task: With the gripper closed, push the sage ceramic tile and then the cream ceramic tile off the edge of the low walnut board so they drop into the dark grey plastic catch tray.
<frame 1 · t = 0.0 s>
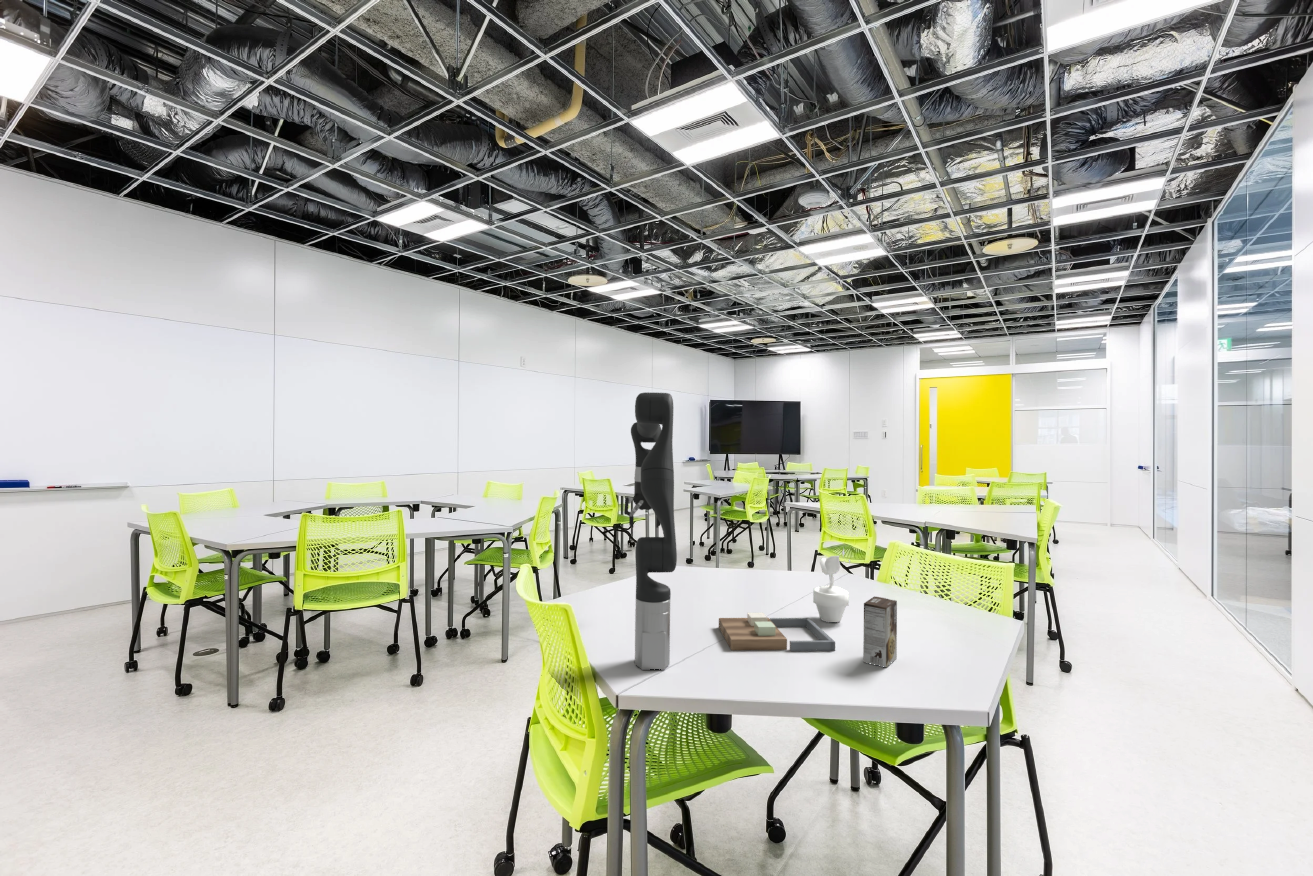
hand: (644, 527, 195), 29 cm above the table, tool pointing down, fingers open, 8 cm apart
board: (750, 638, 171), on the table
coffee box: (879, 661, 154), on the table
tile sage: (764, 632, 167), point 3 cm above the table, touching board
catch tray: (798, 637, 172), on the table
potted plant: (830, 620, 190), on the table
tile cream: (757, 623, 176), point 3 cm above the table, touching board
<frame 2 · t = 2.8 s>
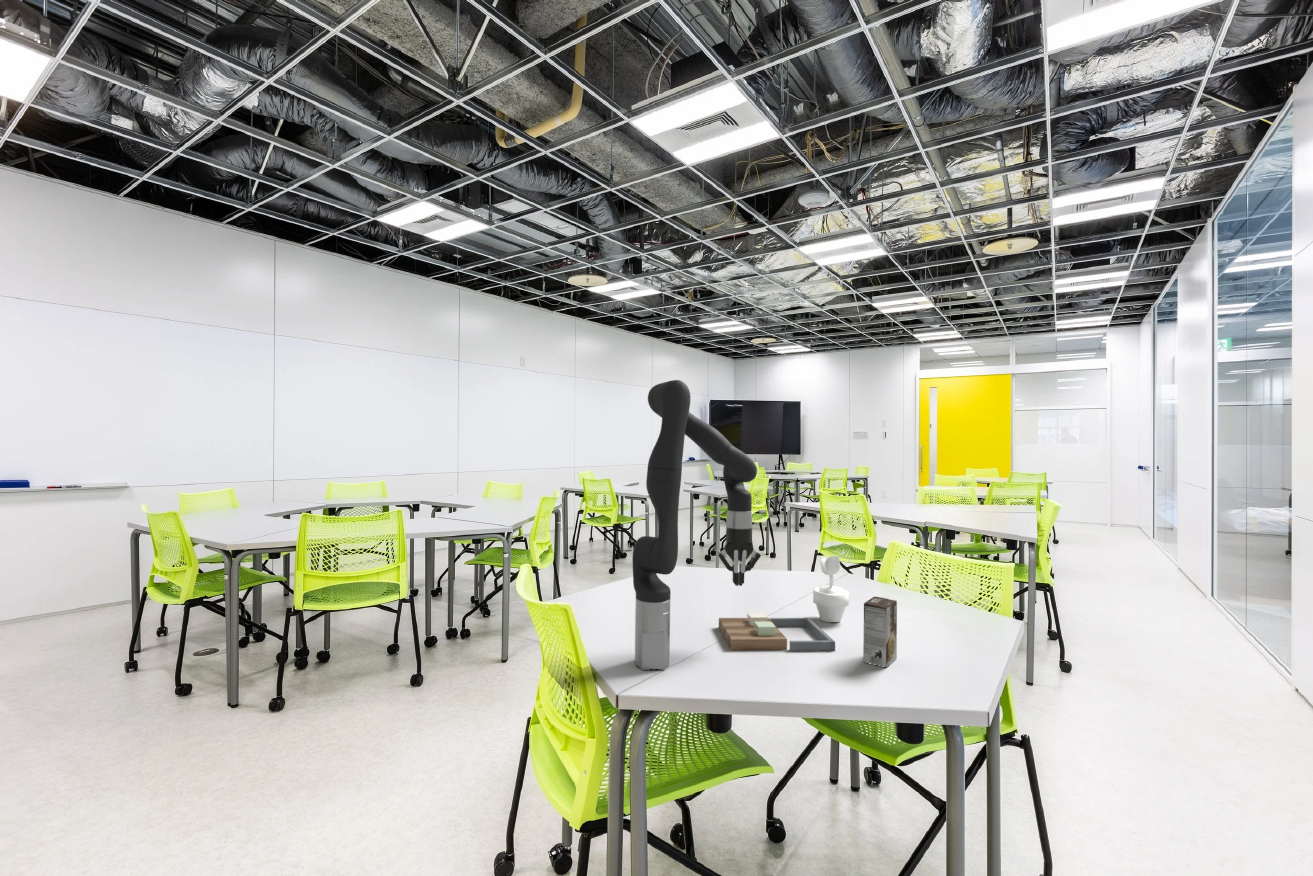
hand: (738, 585, 167), 17 cm above the table, tool pointing down, fingers closed
nothing on the table moved.
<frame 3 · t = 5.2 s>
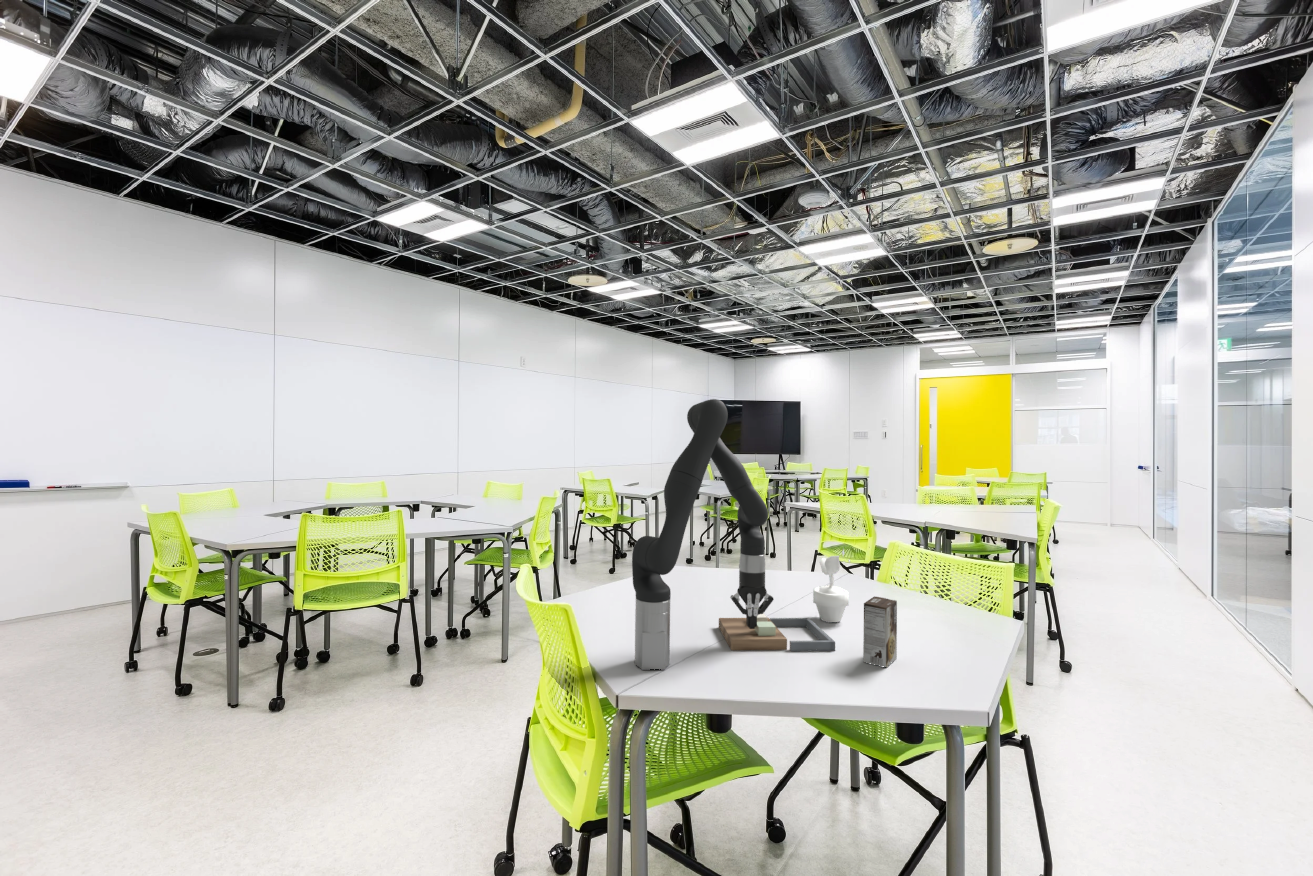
hand: (751, 628, 167), 4 cm above the table, tool pointing down, fingers closed
tile sage: (764, 632, 167), point 3 cm above the table, touching board, gripper
everything else where it was.
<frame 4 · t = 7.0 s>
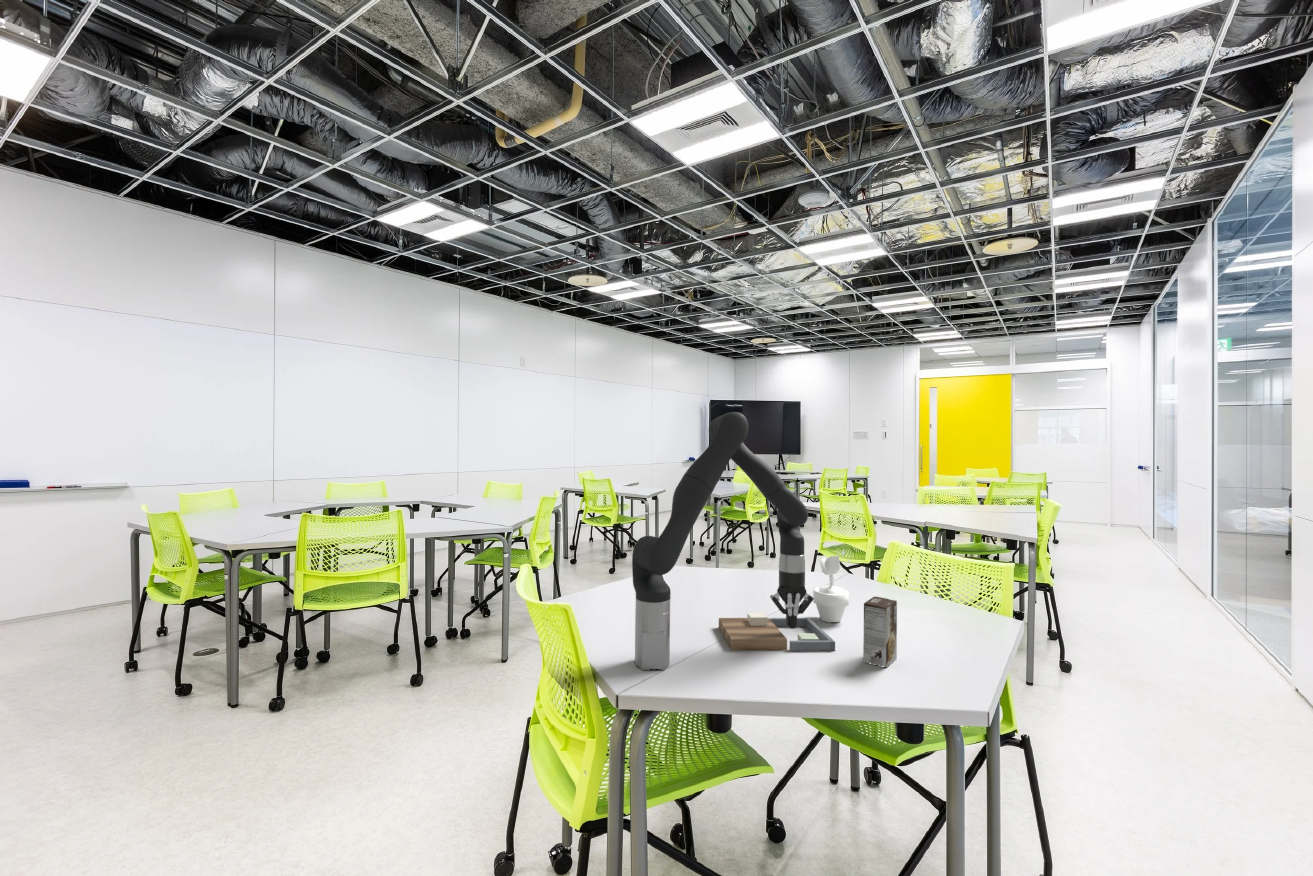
hand: (791, 627, 168), 4 cm above the table, tool pointing down, fingers closed
tile sage: (808, 636, 167), point 2 cm above the table, tilted 180°
everything else where it was.
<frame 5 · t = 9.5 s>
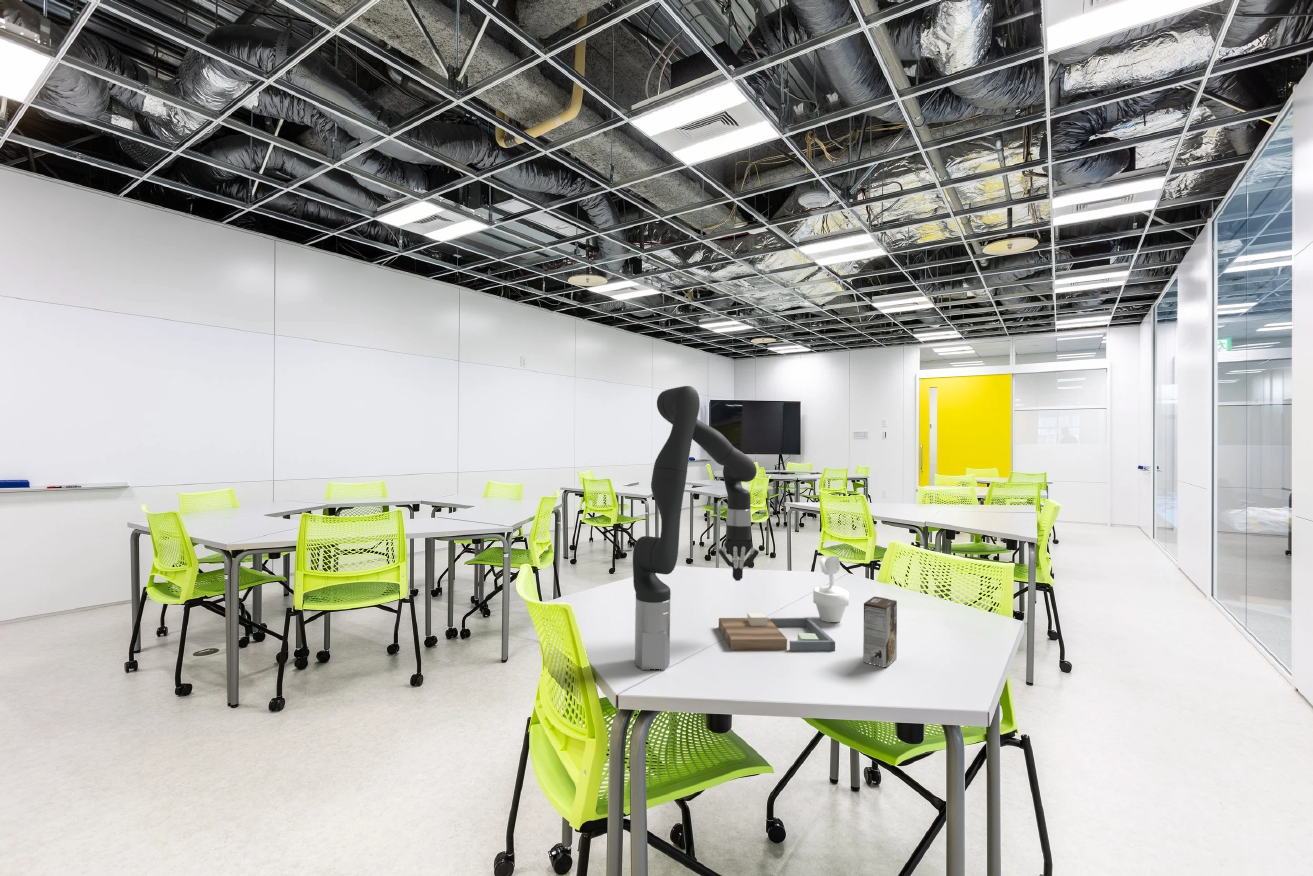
hand: (737, 580, 174), 17 cm above the table, tool pointing down, fingers closed
nothing on the table moved.
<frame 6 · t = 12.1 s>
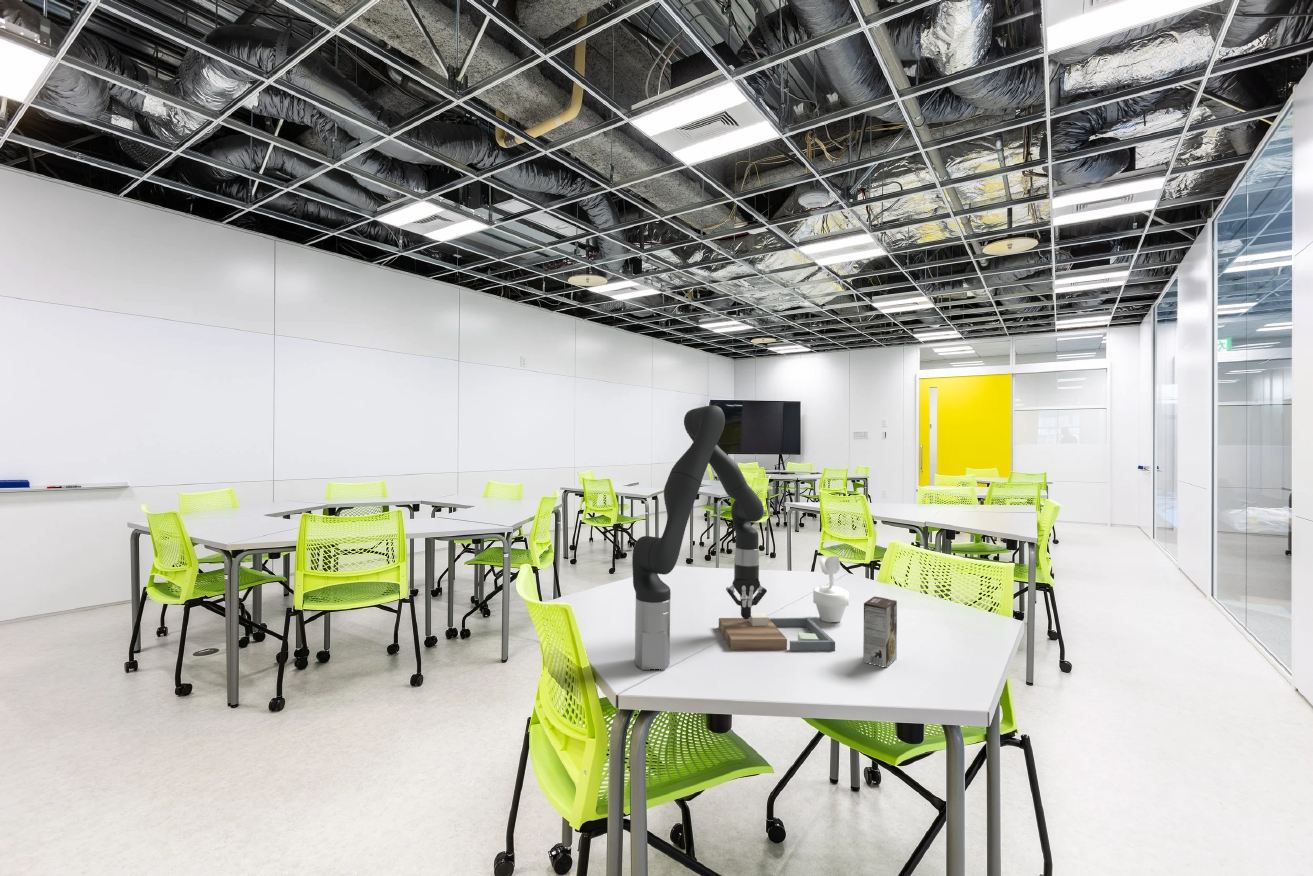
hand: (745, 618, 176), 4 cm above the table, tool pointing down, fingers closed
tile cream: (758, 623, 176), point 3 cm above the table, touching board, gripper
everything else where it was.
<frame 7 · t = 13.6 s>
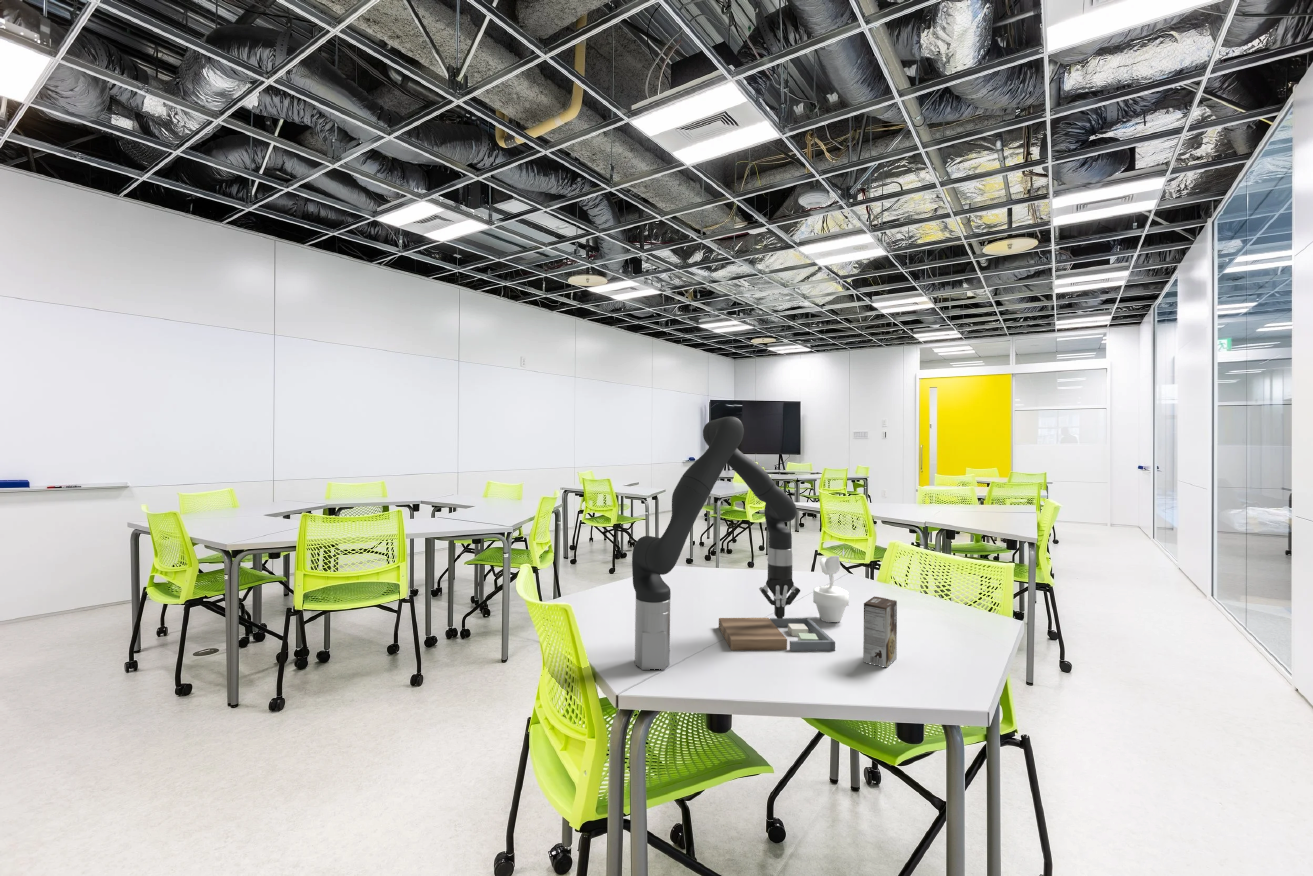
hand: (779, 618, 177), 4 cm above the table, tool pointing down, fingers closed
tile cream: (797, 626, 176), point 2 cm above the table, tilted 180°
everything else where it was.
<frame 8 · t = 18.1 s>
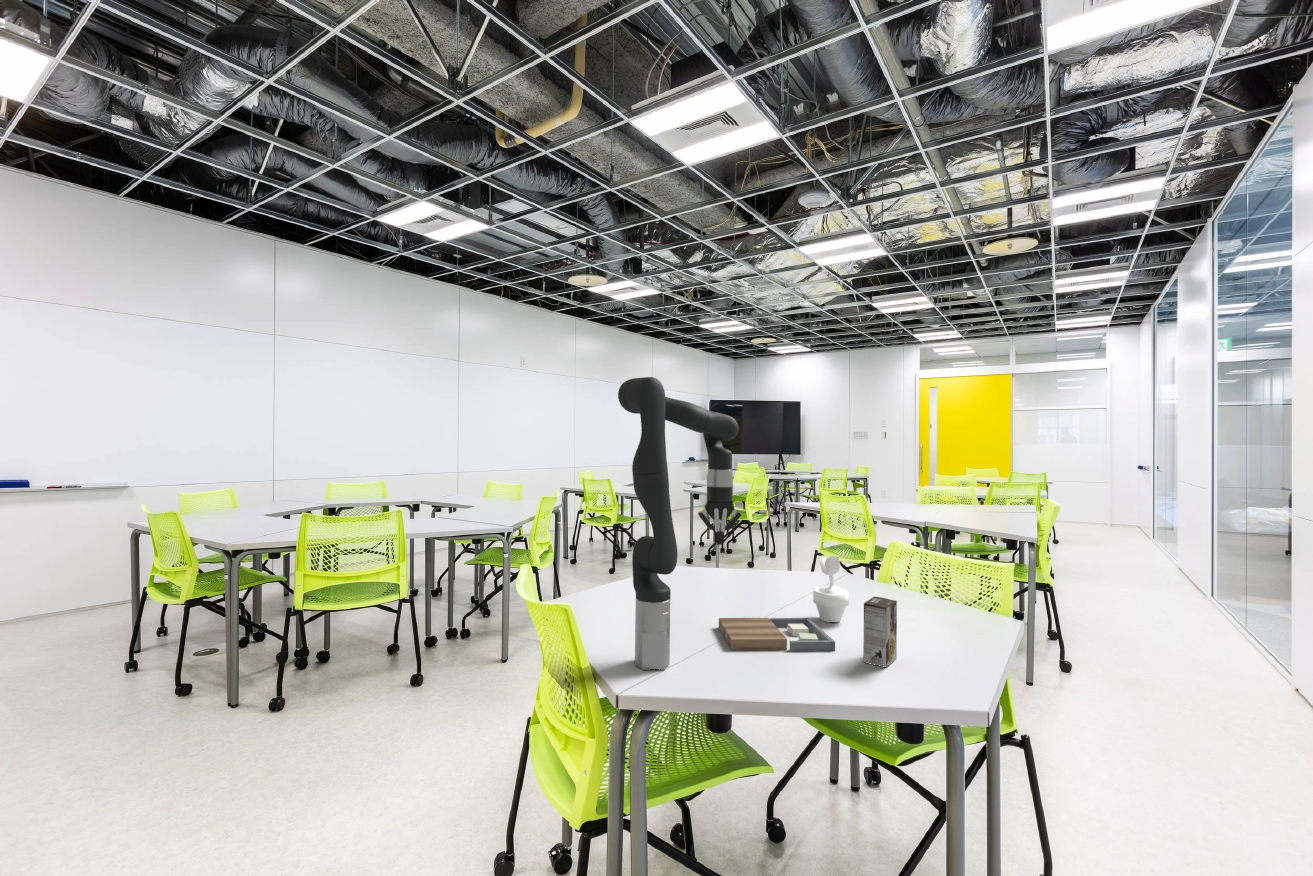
hand: (719, 544, 166), 29 cm above the table, tool pointing down, fingers closed
nothing on the table moved.
at the end: tile sage inside the target area (5.3 cm from its centre), point 2.2 cm above the table; tile cream inside the target area (3.9 cm from its centre), point 2.2 cm above the table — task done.
